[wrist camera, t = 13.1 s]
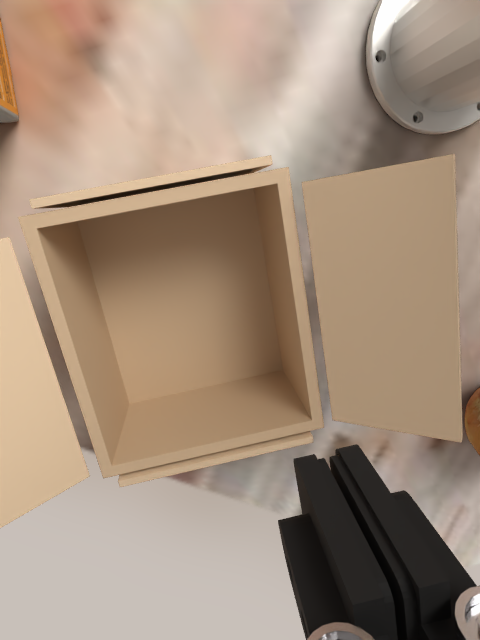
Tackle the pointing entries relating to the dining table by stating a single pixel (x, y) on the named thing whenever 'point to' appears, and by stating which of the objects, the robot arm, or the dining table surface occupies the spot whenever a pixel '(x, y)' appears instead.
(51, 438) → the flap
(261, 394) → the carton
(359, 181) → the flap
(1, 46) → the hard drive box
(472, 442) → the onion
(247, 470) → the dining table surface
